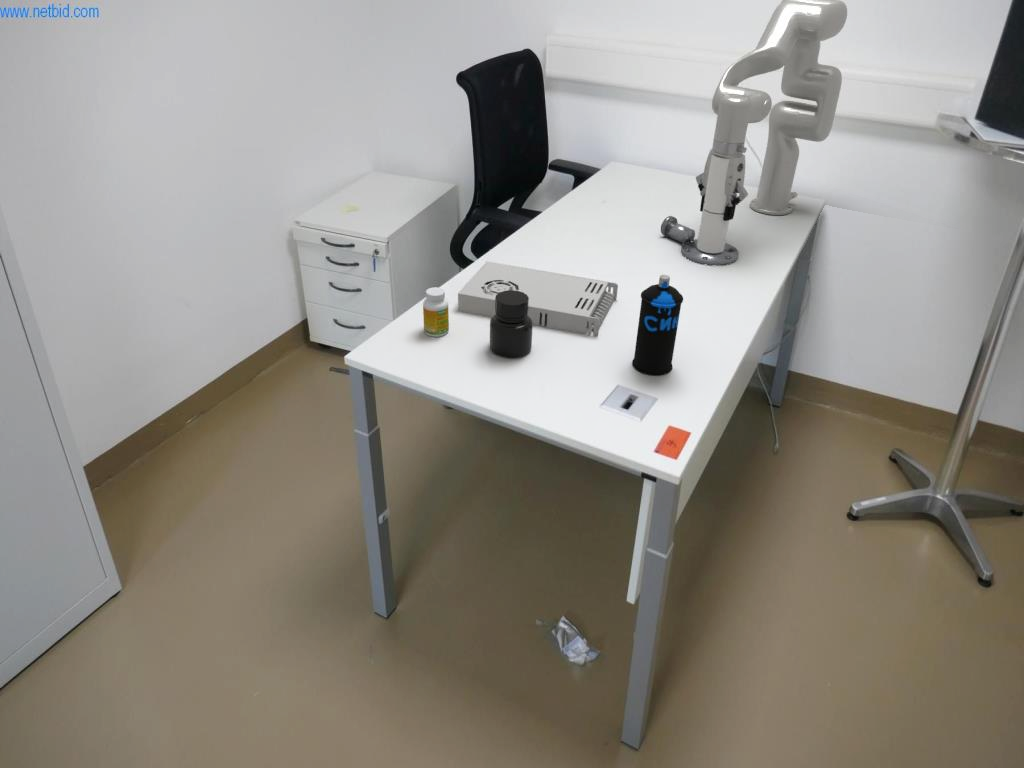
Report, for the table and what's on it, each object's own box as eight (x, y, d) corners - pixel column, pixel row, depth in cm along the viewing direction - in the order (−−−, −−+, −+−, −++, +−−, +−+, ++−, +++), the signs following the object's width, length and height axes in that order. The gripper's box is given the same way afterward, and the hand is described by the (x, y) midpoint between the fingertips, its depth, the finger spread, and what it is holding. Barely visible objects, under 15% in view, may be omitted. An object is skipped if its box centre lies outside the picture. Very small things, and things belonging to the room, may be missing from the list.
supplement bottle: (439, 340, 168) (437, 299, 163) (419, 333, 170) (417, 292, 165) (453, 329, 172) (453, 289, 167) (433, 323, 174) (432, 283, 169)
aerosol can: (628, 355, 165) (639, 268, 154) (666, 354, 165) (680, 267, 154) (636, 376, 158) (648, 286, 147) (676, 375, 158) (691, 285, 148)
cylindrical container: (722, 243, 212) (738, 151, 199) (725, 254, 207) (743, 159, 193) (695, 241, 213) (710, 149, 199) (698, 252, 207) (713, 158, 193)
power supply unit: (597, 339, 172) (599, 318, 169) (457, 312, 180) (457, 293, 177) (616, 302, 187) (618, 283, 184) (486, 279, 195) (486, 261, 192)
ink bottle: (537, 341, 169) (539, 291, 162) (528, 362, 161) (530, 310, 155) (493, 335, 170) (494, 285, 164) (482, 355, 163) (483, 304, 157)
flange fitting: (749, 257, 209) (753, 237, 206) (711, 270, 202) (715, 250, 199) (684, 229, 225) (687, 210, 222) (647, 240, 217) (650, 221, 214)
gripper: (766, 153, 191) (752, 222, 201) (711, 136, 203) (700, 202, 212) (746, 158, 187) (732, 228, 197) (691, 140, 199) (681, 207, 209)
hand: (716, 214), depth 205 cm, fingers closed on cylindrical container, 7 cm apart
